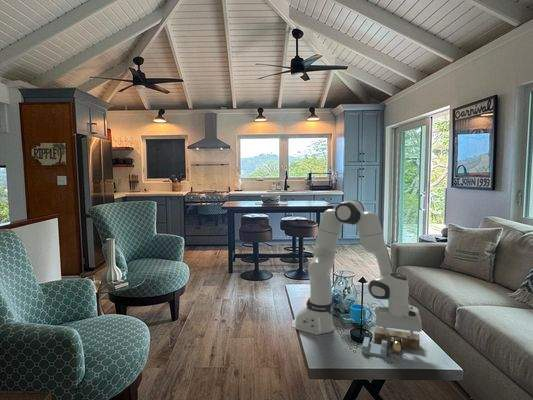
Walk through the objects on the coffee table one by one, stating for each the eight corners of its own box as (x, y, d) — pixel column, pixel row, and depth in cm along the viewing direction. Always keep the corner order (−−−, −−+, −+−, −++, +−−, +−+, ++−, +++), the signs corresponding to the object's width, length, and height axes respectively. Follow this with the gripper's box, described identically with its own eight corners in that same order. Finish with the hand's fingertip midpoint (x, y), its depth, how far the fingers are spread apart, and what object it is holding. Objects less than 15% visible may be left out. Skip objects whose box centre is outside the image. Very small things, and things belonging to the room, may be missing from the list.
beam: (374, 342, 167) (374, 332, 167) (375, 336, 173) (375, 327, 172) (419, 350, 160) (419, 340, 159) (418, 344, 165) (419, 334, 165)
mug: (353, 324, 186) (353, 310, 186) (348, 318, 194) (348, 304, 194) (374, 323, 187) (374, 309, 187) (368, 317, 196) (368, 303, 195)
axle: (391, 353, 157) (393, 346, 157) (393, 339, 170) (394, 332, 169) (399, 356, 156) (401, 348, 155) (400, 341, 169) (402, 335, 168)
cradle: (362, 353, 157) (362, 345, 157) (364, 344, 166) (364, 336, 165) (386, 357, 153) (386, 350, 153) (387, 348, 162) (387, 340, 161)
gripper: (374, 308, 161) (374, 336, 162) (422, 314, 154) (421, 344, 155) (375, 303, 167) (375, 331, 168) (421, 308, 160) (421, 337, 161)
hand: (398, 337), depth 161 cm, fingers open, 8 cm apart
